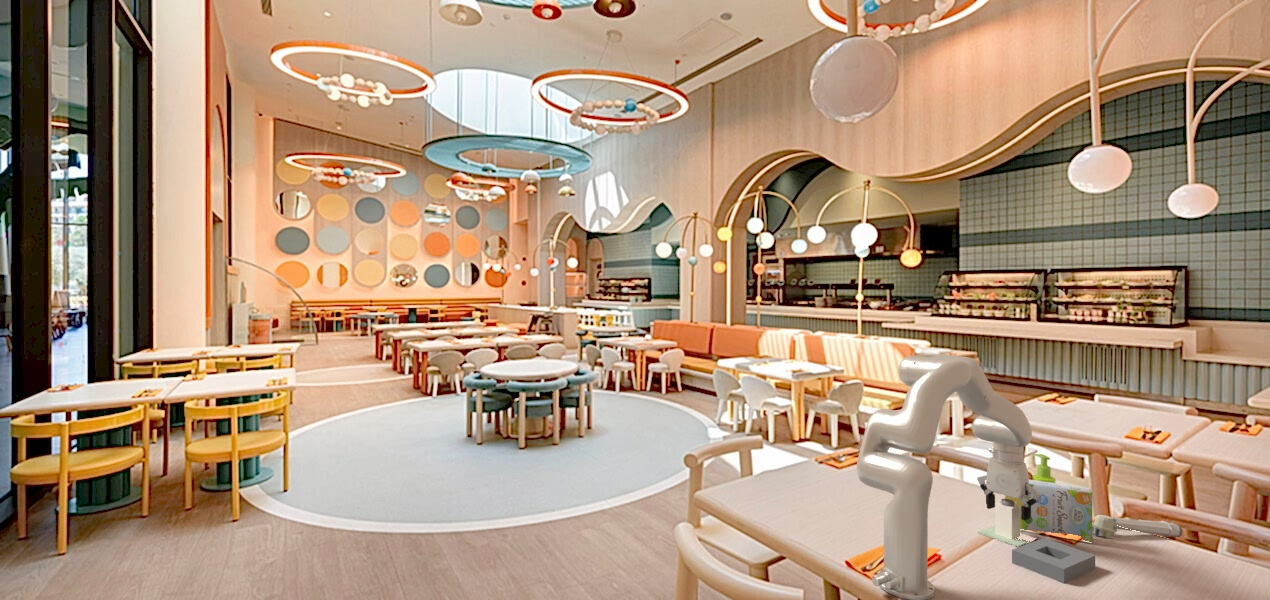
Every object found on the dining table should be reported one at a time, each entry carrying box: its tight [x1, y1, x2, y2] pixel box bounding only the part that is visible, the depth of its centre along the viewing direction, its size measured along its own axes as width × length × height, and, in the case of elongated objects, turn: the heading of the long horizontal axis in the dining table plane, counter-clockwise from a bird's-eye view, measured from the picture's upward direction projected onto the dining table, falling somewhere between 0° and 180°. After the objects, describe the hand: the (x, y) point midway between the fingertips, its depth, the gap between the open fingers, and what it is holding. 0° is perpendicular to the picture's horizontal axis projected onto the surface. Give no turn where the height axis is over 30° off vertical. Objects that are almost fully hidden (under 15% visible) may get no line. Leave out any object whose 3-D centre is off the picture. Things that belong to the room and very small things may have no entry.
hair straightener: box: [1092, 514, 1183, 539], centre depth 165 cm, size 5×7×25 cm
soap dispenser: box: [1032, 453, 1056, 483], centre depth 179 cm, size 6×7×20 cm
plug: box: [994, 498, 1021, 539], centre depth 164 cm, size 5×5×10 cm
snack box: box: [1003, 479, 1093, 543], centre depth 167 cm, size 21×6×15 cm, turn 58°
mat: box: [977, 525, 1030, 547], centre depth 164 cm, size 11×11×1 cm
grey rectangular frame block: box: [1011, 537, 1096, 584], centre depth 146 cm, size 16×12×4 cm
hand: (1007, 513), depth 164 cm, fingers open, 9 cm apart
